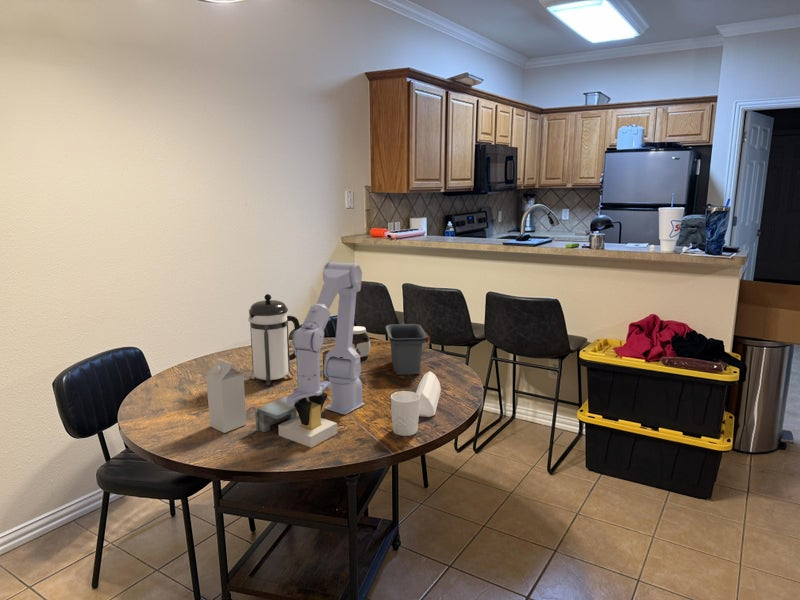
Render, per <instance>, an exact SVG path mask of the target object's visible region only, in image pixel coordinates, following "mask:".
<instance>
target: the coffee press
mask: <svg viewBox="0 0 800 600" xmlns="http://www.w3.org/2000/svg"><path fill="white" fill-rule="evenodd" d="M263 298H264V300H258V301H256V302H254V303H253V304H251V306H250V308H249V310H248V322H249V326H250V342H251V343H250V346H251V361H252V362H251V365H252V372H251V374H250V376H249V380H251V381H253V380H255V379H259V380H263V381H265V387H271V384H272V381H273V380H280V379H283V378H285V377H287V378H288V379H289V380H293V378H294V377H295V375H294V374H293V373H292V371H291V362H290V361H293V360H295V359H297V357H296V356H295V350H294V351H293V353H291V354H290V343H289V342H290V339H289V338H290V337H289V322H292V323H293V326H294V332H295V331H296V330H298V329H299V328H301V326H300V321H299V320H298V318H297V317H296V316H293V315H288V312H289V308H288V306H287V305H286V304H285V302H283V301H280V300H273V299H272V295H271V294H269V293H266V294H265V295H264V297H263ZM288 374H290V375H291V376H292V377H291V376H289V375H288ZM252 375H254V377H252Z"/></svg>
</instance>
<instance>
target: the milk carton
mask: <svg viewBox="0 0 800 600" xmlns="http://www.w3.org/2000/svg"><path fill="white" fill-rule="evenodd" d="M215 361H216V362H215V364H214V365H212V367H211V368H210V370H209V371H208V372H207V373H206V377H205V378H206V389H207V402H208V416H209V417H208V418H209V427H211V428H213V429H214V430H217V431H219V432H221V433H223V434H226V433H228V432H231V431H233V430H236V429H239V428H241V427H244V426H246V425H247V414H246V413H247V411H246V397H245V396H246V395H245V394H246V393H245V382H244V381H245V379H244V376H245V375H244V373H242V372H241V371H239V370H238V369H236V368H234V367H233V363H232V362H228V361H226V360H223V359H221V358H218V357H216V360H215Z"/></svg>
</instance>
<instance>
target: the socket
mask: <svg viewBox="0 0 800 600" xmlns="http://www.w3.org/2000/svg"><path fill="white" fill-rule="evenodd" d="M337 434H338V422H335V421H332V420H330V419H329V420H328V419H326V418H322V417H321V425H320V426H318V427H316V428H314V429H312V430H308V429H306V428H303V427H302V424H301V420H300V417H299V415H297V417H295V418H292V419H288V420H286V421H284V422H282V423H280V424H278V436H279V437H282V438H284V439H288V440H290V441H292V442H295V443H298V444H301V445H303V446H305V447H308V448H314V447H316V446H317V445H319V444H321V443H323V442H325V441H326V440H328V439H330V438H331V437H333V436H335V435H337Z"/></svg>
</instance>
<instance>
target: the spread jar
mask: <svg viewBox="0 0 800 600" xmlns="http://www.w3.org/2000/svg"><path fill="white" fill-rule="evenodd" d="M352 348H353V349H354V350H355V351H356V352H357V353H358V354H359V355H360V361H362V360H365V359H366V358H367V357H368V356H369V355H370V352H371V339H370V336H369V334H368V333H367V329H366V327H365V326H360V325H359V326H357V325H356V326H355V325H354V328H353V340H352ZM345 359H349V358H345Z"/></svg>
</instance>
